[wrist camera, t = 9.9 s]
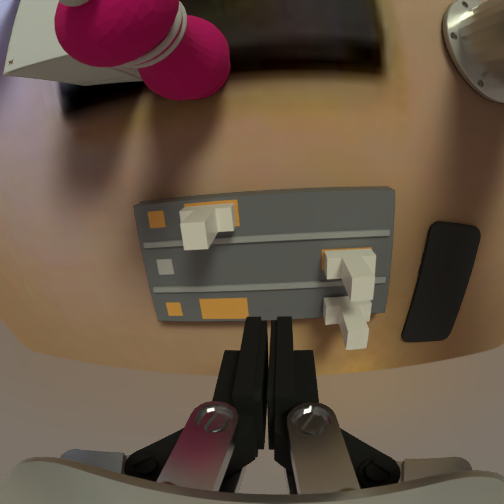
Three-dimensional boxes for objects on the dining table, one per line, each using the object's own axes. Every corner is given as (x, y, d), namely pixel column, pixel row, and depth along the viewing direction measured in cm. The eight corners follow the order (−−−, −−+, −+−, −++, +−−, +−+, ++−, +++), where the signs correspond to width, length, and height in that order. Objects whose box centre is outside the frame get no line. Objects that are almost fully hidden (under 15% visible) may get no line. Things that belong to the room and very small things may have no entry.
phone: (399, 342, 33) (431, 221, 27) (397, 338, 34) (428, 219, 28) (447, 340, 32) (483, 228, 27) (445, 336, 33) (479, 225, 27)
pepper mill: (184, 119, 26) (28, 108, 8) (147, 64, 24) (-11, 6, 6) (251, 77, 24) (198, -37, 6) (210, 21, 22) (115, -107, 4)
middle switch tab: (370, 248, 27) (391, 275, 21) (369, 268, 28) (388, 298, 22) (324, 250, 27) (335, 279, 22) (324, 271, 28) (334, 302, 23)
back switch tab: (367, 294, 28) (383, 327, 23) (365, 312, 29) (380, 346, 24) (323, 297, 29) (332, 332, 24) (323, 315, 30) (330, 351, 24)
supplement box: (146, 82, 25) (68, 58, 13) (84, 87, 25) (-1, 77, 13) (157, 16, 22) (93, -36, 10) (95, 25, 22) (19, -7, 11)
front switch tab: (233, 202, 26) (223, 220, 21) (236, 225, 27) (226, 247, 22) (184, 206, 27) (163, 225, 21) (187, 228, 27) (167, 251, 22)
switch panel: (387, 186, 27) (396, 190, 25) (379, 302, 31) (385, 313, 29) (141, 201, 29) (132, 206, 27) (164, 311, 34) (157, 322, 32)
